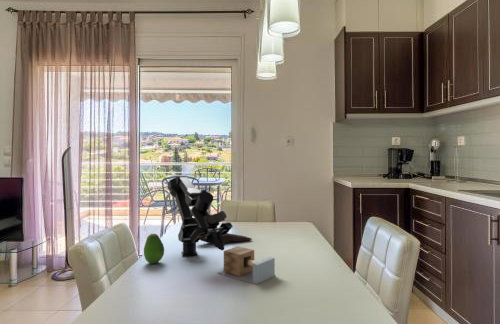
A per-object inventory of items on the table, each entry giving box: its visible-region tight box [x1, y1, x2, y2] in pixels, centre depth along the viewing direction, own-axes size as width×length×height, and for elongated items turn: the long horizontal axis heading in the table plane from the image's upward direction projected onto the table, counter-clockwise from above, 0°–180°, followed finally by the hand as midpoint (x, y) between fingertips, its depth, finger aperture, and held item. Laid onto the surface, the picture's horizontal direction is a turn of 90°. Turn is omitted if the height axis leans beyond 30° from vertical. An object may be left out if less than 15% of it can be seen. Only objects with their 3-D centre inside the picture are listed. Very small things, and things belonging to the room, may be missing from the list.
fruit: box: [143, 233, 165, 265], centre depth 142 cm, size 8×8×12 cm
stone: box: [199, 232, 253, 244], centre depth 175 cm, size 28×6×10 cm, turn 107°
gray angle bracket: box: [218, 256, 276, 285], centre depth 128 cm, size 18×11×6 cm, turn 51°
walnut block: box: [223, 246, 255, 276], centre depth 130 cm, size 8×8×8 cm
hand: (223, 249), depth 135 cm, fingers closed
